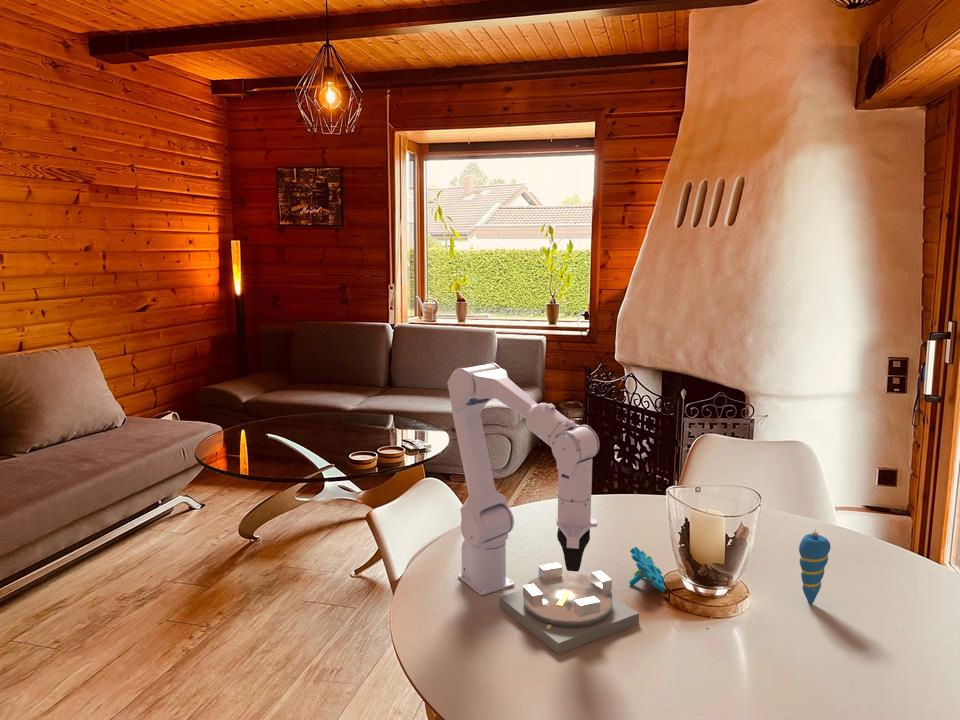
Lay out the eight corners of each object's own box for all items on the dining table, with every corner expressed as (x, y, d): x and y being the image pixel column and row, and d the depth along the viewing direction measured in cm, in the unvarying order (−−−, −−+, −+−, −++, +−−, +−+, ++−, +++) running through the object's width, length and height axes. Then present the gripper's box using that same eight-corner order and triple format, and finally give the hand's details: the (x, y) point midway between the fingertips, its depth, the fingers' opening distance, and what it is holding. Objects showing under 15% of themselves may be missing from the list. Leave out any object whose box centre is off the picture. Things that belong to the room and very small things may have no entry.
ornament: (825, 600, 130) (831, 525, 127) (826, 613, 125) (832, 536, 123) (795, 595, 132) (800, 521, 129) (795, 607, 127) (800, 531, 125)
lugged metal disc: (540, 576, 135) (540, 557, 135) (621, 591, 129) (621, 572, 128) (510, 615, 121) (510, 594, 120) (599, 635, 114) (600, 613, 114)
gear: (670, 594, 129) (633, 552, 131) (646, 613, 130) (610, 571, 132) (672, 576, 140) (637, 537, 142) (650, 593, 141) (616, 555, 143)
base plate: (499, 606, 128) (499, 595, 128) (574, 582, 137) (575, 572, 137) (558, 654, 113) (558, 642, 113) (638, 623, 122) (639, 612, 122)
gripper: (598, 513, 111) (596, 591, 113) (597, 483, 125) (595, 552, 127) (554, 510, 112) (553, 588, 114) (558, 481, 126) (557, 550, 128)
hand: (572, 569), depth 121 cm, fingers closed
